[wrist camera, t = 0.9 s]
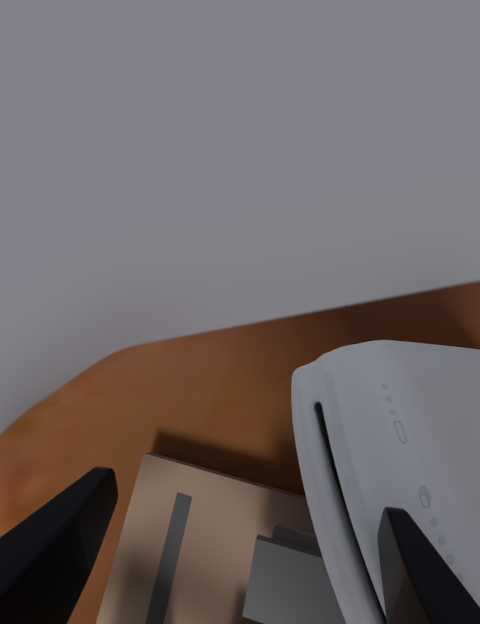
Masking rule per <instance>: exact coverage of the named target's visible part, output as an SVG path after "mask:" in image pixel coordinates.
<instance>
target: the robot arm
mask: <svg viewBox="0 0 480 624" xmlns="http://www.w3.org/2000/svg"><path fill="white" fill-rule="evenodd" d="M117 500H118V488H117V483H116V477H115V472H114V470H113V469H112V468H107V467H95V468H93V469H92V470H90V471H89V472H88V473H86V474H85V475H84V476H82V477H81V478H80V479H78V480H77V481H75V482H74V483H73V484H71V485H70V486H69V487H67V488H66V489H65V490H63V491H62V492H61V493H59V494H58V495H57V496H55V497H54V498H53V499H51V500H50V501H49V502H47V503H46V504H45V505H43V506H42V507H41V508H39V509H38V510H37V511H35V512H34V513H33V514H31V515H30V516H29V517H27V518H26V519H24V520H23V521H22V522H20V523H19V524H18V525H16V526H15V527H14V528H12V529H11V530H10V531H8V532H7V533H6V534H4V535H3V536H2V537H0V624H67V622H68V620H69V618H70V616H71V614H72V612H73V610H74V608H75V606H76V604H77V601H78V599H79V597H80V595H81V593H82V591H83V589H84V587H85V585H86V582H87V580H88V578H89V576H90V573H91V571H92V568H93V566H94V563H95V561H96V558H97V555H98V553H99V550H100V547H101V544H102V542H103V539H104V536H105V534H106V531H107V528H108V525H109V523H110V520H111V517H112V515H113V512H114V509H115V507H116V504H117ZM377 542H378V551H379V560H380V569H381V578H382V586H383V595H384V604H385V612H386V620H387V624H480V607H479V605H478V604H477V603H476V601H475V600H474V599H473V598H472V596H471V595H470V594H469V592H468V591H467V590H466V588H465V587H464V586H463V584H462V583H461V582H460V580H459V579H458V578H457V576H456V575H455V574H454V572H453V571H452V570H451V569H450V567H449V566H448V565H447V563H446V562H445V561H444V559H443V558H442V557H441V555H440V554H439V553H438V551H437V550H436V549H435V547H434V546H433V545H432V544H431V542H430V541H429V540H428V538H427V537H426V536H425V534H424V533H423V532H422V530H421V529H420V528H419V526H418V525H417V524H416V522H415V521H414V520H413V518H412V517H411V516H410V515H409V513H408V512H407V511H406V510H404V509H402V508H395V507H385V508H384V510H383V513H382V517H381V521H380V525H379V529H378V534H377Z"/></svg>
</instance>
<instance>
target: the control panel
mask: <svg viewBox="0 0 480 624" xmlns="http://www.w3.org/2000/svg"><path fill="white" fill-rule="evenodd" d="M258 534H259V535H262V536H265V537H269V538H272V539H276V540H279V541H283V542H286V543H290V544H293V545H296V546H300V547H303V548H307V549H310V550H314V551H317V552H321V550H320V547H319V543H318V540H317V536H316V533H315V531H314V526H313V522H312V519H311V515H310V511H309V507H308V504H307V499H306V496H303V495H300V494H296V493H293V492H289V491H285V490H282V489H278V488H275V487H271V486H268V485H264V484H261V483H257V482H254V481H250V480H247V479H243V478H240V477H236V476H233V475H229V474H226V473H222V472H219V471H215V470H212V469H208V468H205V467H201V466H198V465H194V464H191V463H187V462H184V461H180V460H177V459H173V458H170V457H166V456H163V455H159V454H150V453H144V454H143V458H142V461H141V465H140V468H139V472H138V475H137V479H136V482H135V486H134V490H133V493H132V497H131V500H130V504H129V507H128V511H127V514H126V518H125V522H124V525H123V529H122V532H121V536H120V539H119V543H118V547H117V550H116V554H115V557H114V561H113V564H112V568H111V571H110V575H109V579H108V582H107V586H106V589H105V593H104V596H103V600H102V603H101V607H100V611H99V614H98V618H97V621H96V624H263V623H260V622H258V621H255V620H252V619H249V618H246V617H243V616H242V615H243V609H244V604H245V598H246V592H247V587H248V581H249V575H250V569H251V564H252V558H253V552H254V546H255V541H256V537H257V535H258Z"/></svg>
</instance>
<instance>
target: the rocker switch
mask: <svg viewBox="0 0 480 624" xmlns="http://www.w3.org/2000/svg"><path fill="white" fill-rule="evenodd" d="M242 616H243V617H246V618H249V619H252V620H255V621H258V622H260V623H263V624H346V622H345V619H344V617H343V614H342V611H341V609H340V606H339V603H338V600H337V598H336V595H335V592H334V589H333V587H332V584H331V581H330V578H329V575H328V572H327V569H326V566H325V563H324V560H323V556H322V553H321V552H317V551H314V550H310V549H307V548H303V547H300V546H296V545H293V544H290V543H286V542H283V541H279V540H276V539H272V538H269V537H265V536H262V535H259V534H258V535H257V537H256V541H255V546H254V552H253V558H252V564H251V569H250V575H249V581H248V587H247V592H246V598H245V604H244V609H243V615H242Z"/></svg>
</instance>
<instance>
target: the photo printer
mask: <svg viewBox="0 0 480 624" xmlns="http://www.w3.org/2000/svg"><path fill="white" fill-rule="evenodd" d="M291 401H292V418H293V429H294V436H295V443H296V450H297V455H298V461H299V466H300V472H301V477H302V481H303V486H304V490H305V495H306V499H307V504H308V507H309V511H310V515H311V519H312V522H313V526H314V531H315V533H316V536H317V540H318V543H319V547H320V550H321V553H322V556H323V560H324V563H325V566H326V569H327V572H328V575H329V578H330V581H331V584H332V587H333V589H334V592H335V595H336V598H337V600H338V603H339V606H340V609H341V611H342V614H343V617H344V619H345V622H346V624H387V620H386V612H385V604H384V595H383V586H382V578H381V569H380V560H379V551H378V542H377V534H378V529H379V525H380V521H381V517H382V513H383V510H384V508H385V507H395V508H402V509H404V510H406V511H407V512H408V513H409V515H410V516H411V517H412V518H413V520H414V521H415V522H416V524H417V525H418V526H419V528H420V529H421V530H422V532H423V533H424V534H425V536H426V537H427V538H428V540H429V541H430V542H431V544H432V545H433V546H434V547H435V549H436V550H437V551H438V553H439V554H440V555H441V557H442V558H443V559H444V561H445V562H446V563H447V565H448V566H449V567H450V569H451V570H452V571H453V572H454V574H455V575H456V576H457V578H458V579H459V580H460V582H461V583H462V584H463V586H464V587H465V588H466V590H467V591H468V592H469V594H470V595H471V596H472V598H473V599H474V600H475V601H476V603H477V604H478V605H479V607H480V350H479V349H471V348H463V347H454V346H444V345H434V344H424V343H415V342H404V341H393V340H376V341H369V342H364V343H359V344H352V345H347V346H343V347H340V348H337V349H335V350H333V351H331V352H328V353H325V354H323V355H322V356H320V357H319V358H318V359H317V360H315V361H313V362H312V363H310V364H308V365H304V366H301V367H299V368H297V369H296V370H295V371H294V372H293V375H292V385H291Z"/></svg>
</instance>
